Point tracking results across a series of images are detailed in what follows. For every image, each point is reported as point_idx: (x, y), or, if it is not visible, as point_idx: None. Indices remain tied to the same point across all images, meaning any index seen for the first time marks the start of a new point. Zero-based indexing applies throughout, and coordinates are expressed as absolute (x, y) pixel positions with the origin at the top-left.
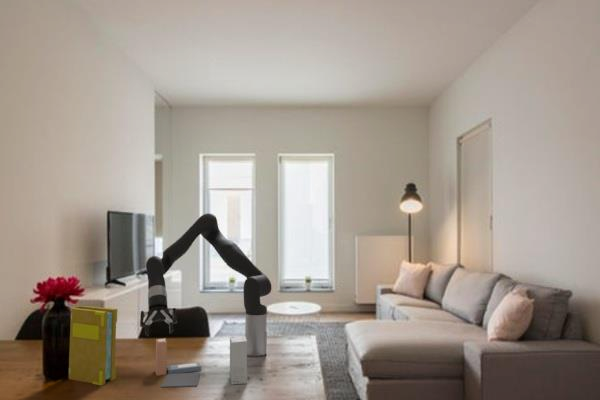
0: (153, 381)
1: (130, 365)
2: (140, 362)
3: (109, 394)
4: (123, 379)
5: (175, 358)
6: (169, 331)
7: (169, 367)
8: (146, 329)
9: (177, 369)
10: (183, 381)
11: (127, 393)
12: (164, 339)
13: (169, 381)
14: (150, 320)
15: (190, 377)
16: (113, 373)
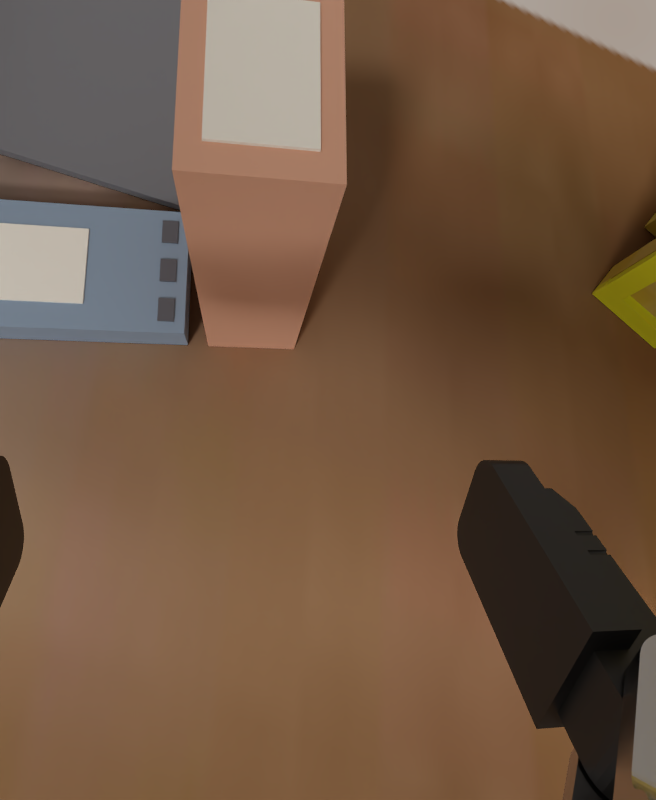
0: None
1: None
2: (417, 653)
3: (591, 40)
4: (534, 256)
5: (42, 680)
6: (2, 598)
7: (170, 267)
8: (584, 557)
9: (104, 209)
10: (104, 3)
11: (490, 8)
12: (205, 91)
13: None
14: (651, 793)
15: (28, 55)
16: (635, 258)
